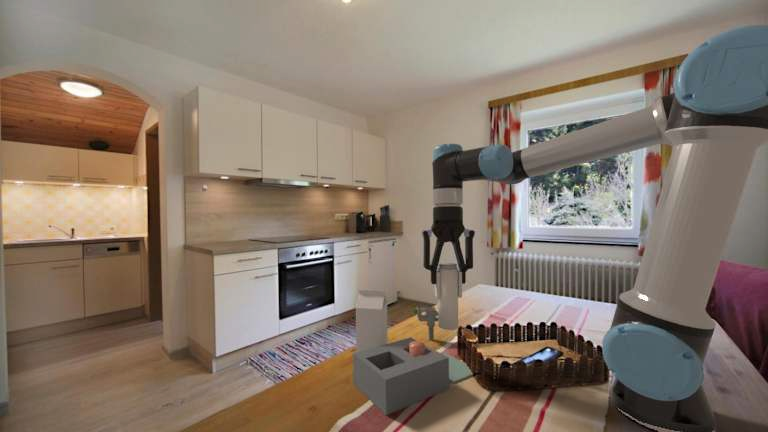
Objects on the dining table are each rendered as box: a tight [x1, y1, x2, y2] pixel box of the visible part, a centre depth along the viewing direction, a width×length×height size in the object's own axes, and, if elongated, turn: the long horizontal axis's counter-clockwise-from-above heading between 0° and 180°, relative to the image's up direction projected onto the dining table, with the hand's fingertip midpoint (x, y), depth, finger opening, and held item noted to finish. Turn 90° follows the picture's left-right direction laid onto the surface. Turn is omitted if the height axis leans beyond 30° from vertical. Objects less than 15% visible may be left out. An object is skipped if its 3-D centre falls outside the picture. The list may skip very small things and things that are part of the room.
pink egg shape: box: [409, 340, 426, 357], centre depth 73 cm, size 4×4×8 cm
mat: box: [442, 352, 474, 384], centre depth 79 cm, size 12×9×1 cm
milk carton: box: [355, 289, 389, 353], centre depth 84 cm, size 7×7×19 cm
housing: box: [352, 337, 450, 416], centre depth 71 cm, size 14×17×7 cm
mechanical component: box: [413, 306, 438, 342], centre depth 97 cm, size 3×10×10 cm, turn 89°
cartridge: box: [437, 262, 459, 331], centre depth 79 cm, size 5×5×16 cm
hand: (448, 296), depth 79 cm, fingers closed on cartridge, 5 cm apart
